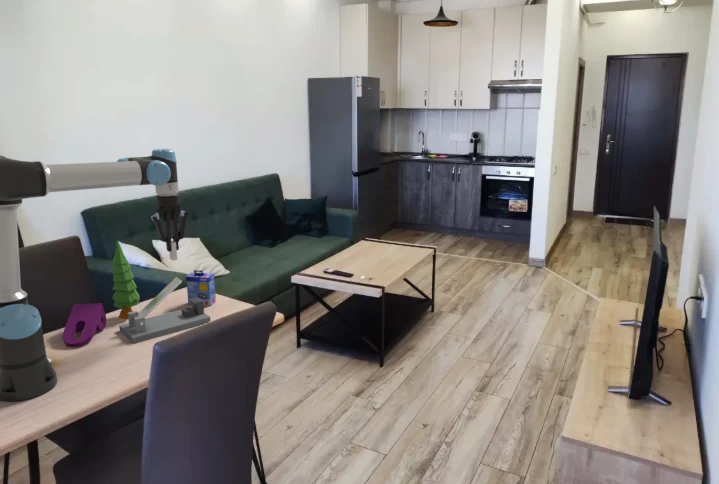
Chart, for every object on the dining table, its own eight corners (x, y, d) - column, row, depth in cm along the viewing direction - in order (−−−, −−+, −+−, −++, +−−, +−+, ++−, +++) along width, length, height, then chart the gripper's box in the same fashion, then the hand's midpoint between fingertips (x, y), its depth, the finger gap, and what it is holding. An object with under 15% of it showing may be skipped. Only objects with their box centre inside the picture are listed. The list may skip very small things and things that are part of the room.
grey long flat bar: (138, 325, 188) (134, 322, 187) (134, 322, 191) (130, 319, 190) (183, 282, 195) (179, 279, 194) (178, 279, 198) (175, 276, 197)
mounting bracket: (94, 358, 185) (107, 319, 198) (88, 343, 179) (101, 303, 193) (65, 360, 184) (80, 320, 197) (58, 344, 178) (73, 304, 192)
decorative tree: (123, 311, 210) (114, 236, 203) (147, 311, 210) (138, 236, 202) (111, 321, 201) (101, 243, 193) (135, 321, 200) (127, 243, 193)
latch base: (133, 343, 183) (131, 324, 181) (119, 330, 193) (117, 312, 191) (210, 321, 200) (209, 304, 198) (194, 311, 210) (193, 294, 209)
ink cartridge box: (187, 305, 217) (184, 270, 213) (193, 300, 222) (190, 266, 218) (211, 306, 215) (208, 271, 212) (216, 301, 221) (214, 267, 217)
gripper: (152, 197, 181) (159, 265, 187) (190, 193, 189) (195, 258, 195) (144, 194, 186) (151, 260, 192) (181, 190, 194) (186, 253, 200)
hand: (173, 259), depth 194 cm, fingers closed
